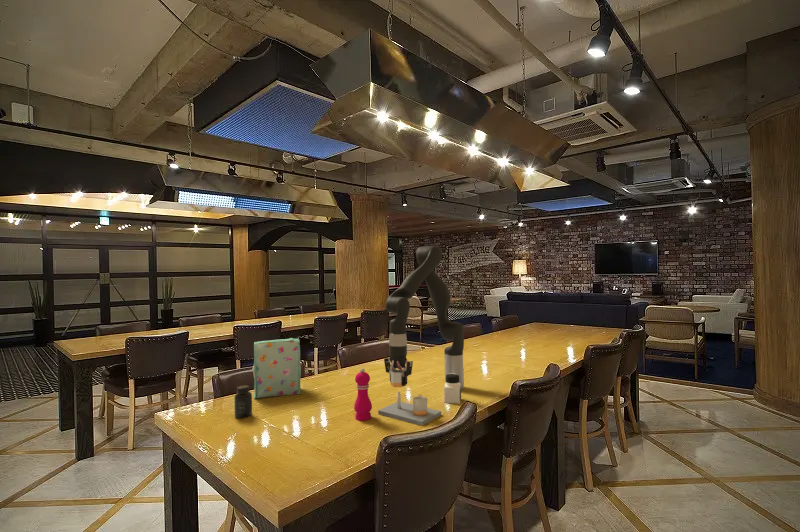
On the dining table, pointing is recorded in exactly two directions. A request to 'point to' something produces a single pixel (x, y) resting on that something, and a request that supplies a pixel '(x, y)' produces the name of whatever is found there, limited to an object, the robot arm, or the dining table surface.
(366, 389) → the pepper mill
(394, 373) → the sleeve
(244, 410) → the supplement bottle
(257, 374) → the lunch bag
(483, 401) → the dining table surface
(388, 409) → the pin board
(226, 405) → the dining table surface
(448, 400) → the medicine bottle
